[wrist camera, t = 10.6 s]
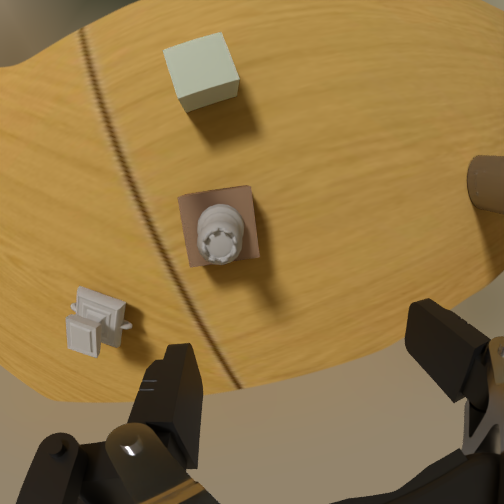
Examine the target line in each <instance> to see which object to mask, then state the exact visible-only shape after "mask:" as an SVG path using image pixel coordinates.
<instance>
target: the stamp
mask: <svg viewBox="0 0 504 504" xmlns="http://www.w3.org/2000/svg"><path fill="white" fill-rule="evenodd" d="M125 305H126V302H124V301H122V300H119V299H116V298H113V297H110V296H107V295H104V294H102V293H99V292H96V291H93V290H90V289H87V288H85V287H82V286H79V287H78V290H77V302H76V303H72V304H71V305H70V306H71V309H72V310H74V311H75V312H76V314H75V315H72V314H71V315H69V316H67V317H66V330H67V343H68V348H69V349H72V350H75V351H77V352H80V353H83V354H86V355H89V356H92V357H95V358H97V357H98V355H99V353H100V345H101V342H102V343H105V344H107V345H110V346H113V347H116V348H117V347H119V346H120V345H121V336H122V329H131V328H132V326H133V325H132V324H131V323H130V322H128V321H126V320H124V312H125Z"/></svg>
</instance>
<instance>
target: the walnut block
mask: <svg viewBox="0 0 504 504" xmlns="http://www.w3.org/2000/svg"><path fill="white" fill-rule="evenodd" d="M178 202H179V208H180V214H181V220H182V226H183V232H184V238H185V243H186V249H187V254H188V259H189V265H190V267H197V266H203V265H210V264H212V263H210V262H208V261H206V260H205V259H204V258H203V257H202V256H201V255H200V253H199V250H198V247H197V239H198V233H197V226H198V220H199V218H200V216H201V214H202V212H204V211H205V210H206V209H207V208H208V207H210V206H213V205H217V204H224V205H229V206H231V207H233V208H235V209H236V210H237V211H238V212H239V214H240V215H241V216H242V219H243V222H244V233H243V237H242V241H243V242H242V250H241V251H240V253H239V255H238V257H237V258H236V259H234V260H233V261H238V260H244V259H251V258H258V257H260V255H259V247H258V239H257V231H256V223H255V215H254V207H253V199H252V191H251V186H248V185H245V186H237V187H230V188H223V189H216V190H210V191H203V192H197V193H191V194H185V195H182V196H180V197H178Z"/></svg>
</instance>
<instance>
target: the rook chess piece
mask: <svg viewBox="0 0 504 504" xmlns="http://www.w3.org/2000/svg"><path fill="white" fill-rule="evenodd" d="M197 233H198V239H197V247H198V250H199V253H200V255H201V256H202V257H203V258H204V259H205V260H206V261H208V262H210V263H212V264H216V265H224V264H227V263H231V262H232V261H233V260H234V259H236V258H237V257H238V255H239V253H240V251H241V250H242V242H243V241H242V237H243V233H244V222H243V219H242V216H241V215H240V214H239V212H238V211H237V210H236V209H235V208H233V207H231V206H229V205H224V204H217V205H213V206H210V207H208V208H207V209H206V210H205V211H204V212H202V214H201V216H200V218H199V220H198V226H197Z"/></svg>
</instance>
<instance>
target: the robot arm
mask: <svg viewBox="0 0 504 504" xmlns="http://www.w3.org/2000/svg"><path fill="white" fill-rule="evenodd" d="M467 183H468V191H469V195H470V198H471V200H472V202H473V204H474V205H475V206H476V207H477V208H479V209H483V210H487V211H492V212H495V213H500V214H504V156H488V155H478V156H476V157H475V158H473V160H472V161H471V163H470V166H469V169H468V176H467ZM405 346H406V349H407V351H408V352H409V354H410V355H411V356H412V357H413V358H414V359H415V360H416V361H417V362H418V363H419V365H420V366H421V367H422V368H423V369H424V370H425V371H426V372H427V373H428V374H429V375H430V377H431V378H432V379H433V380H434V381H435V382H436V383H437V384H438V386H439V387H440V388H441V389H442V390H443V391H444V392H445V393H446V395H447V396H448V397H449V398H450V399H451V400H452V401H453V403H455V402H457V401H458V400H460V399H462V398H464V397H466V398H467V401H466V403H465V412H464V414H465V415H464V436H463V446H462V450H460V449H457V450H455V451H454V452H452V453H450V454H449V455H447V456H445V457H444V458H442V459H440V460H438V461H436V462H435V463H433V464H431V465H429V466H428V467H427V468H425V469H424V470H423V471H422V472H421V473H419V474H418V475H417V476H416V477H415V478H413V479H412V480H411V481H409V482H408V483H406V484H405V485H404V486H403V487H401V488H400V489H398V490H396V491H394V492H390V493H385V494H379V495H373V496H366V497H358V498H349V499H345V500H342V501H339V502H334V503H331V504H504V337H503V336H501V337H495V338H493V339H492V340H491V339H489V338H488V337H487V336H485V335H484V334H483V333H481V332H480V331H478V330H477V329H476V328H475V327H473V326H472V325H470V324H467V322H466V321H465V320H464V319H461V318H460V317H459V316H458V315H456V314H455V313H453V312H452V311H450V310H447V309H444V308H443V307H441V306H440V305H439V304H437V303H436V302H434V301H433V300H431V299H429V298H427V299H424V300H420V301H417V302H413V303H412V304H411V305H410V307H409V312H408V320H407V327H406V333H405ZM202 401H203V385H202V379H201V375H200V372H199V369H198V365H197V362H196V358H195V355H194V351H193V348H192V345H191V344H190V343H184V344H172V345H168V347H167V349H166V353H165V356H164V359H163V360H155V361H154V362H153V363H152V364H151V365H150V366H149V367H148V368H147V369H146V372H145V374H144V377H143V382H141V385H140V388H139V391H138V393H137V396H136V399H135V402H134V405H133V407H132V410H131V413H130V416H129V419H128V422H127V424H123V425H121V426H119V427H117V428H116V429H114V430H113V431H112V432H111V433H110V434H109V435H108V437H107V439H106V441H104V442H98V443H91V444H82V445H80V444H79V443H78V442H77V441H76V440H75V438H74V437H73V436H71V435H70V434H67V433H55V434H52V435H50V436H48V437H46V438H45V439H44V440H43V441H42V442H41V444H40V445H39V448H38V450H37V452H36V454H35V456H34V459H33V461H32V463H31V466H30V468H29V470H28V473H27V475H26V478H25V480H24V483H23V485H22V488H21V491H20V494H19V496H18V499H17V502H16V504H220V503H219V502H218V501H217V500H216V499H215V498H214V497H213V496H212V495H211V494H210V493H209V492H208V491H207V490H206V489H205V488H204V487H203V486H202V485H201V484H200V483H198V482H195V481H194V480H193V479H192V478H191V477H190V475H189V474H188V473H187V472H186V469H197V467H198V452H199V438H200V425H201V413H202V412H201V411H202Z"/></svg>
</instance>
